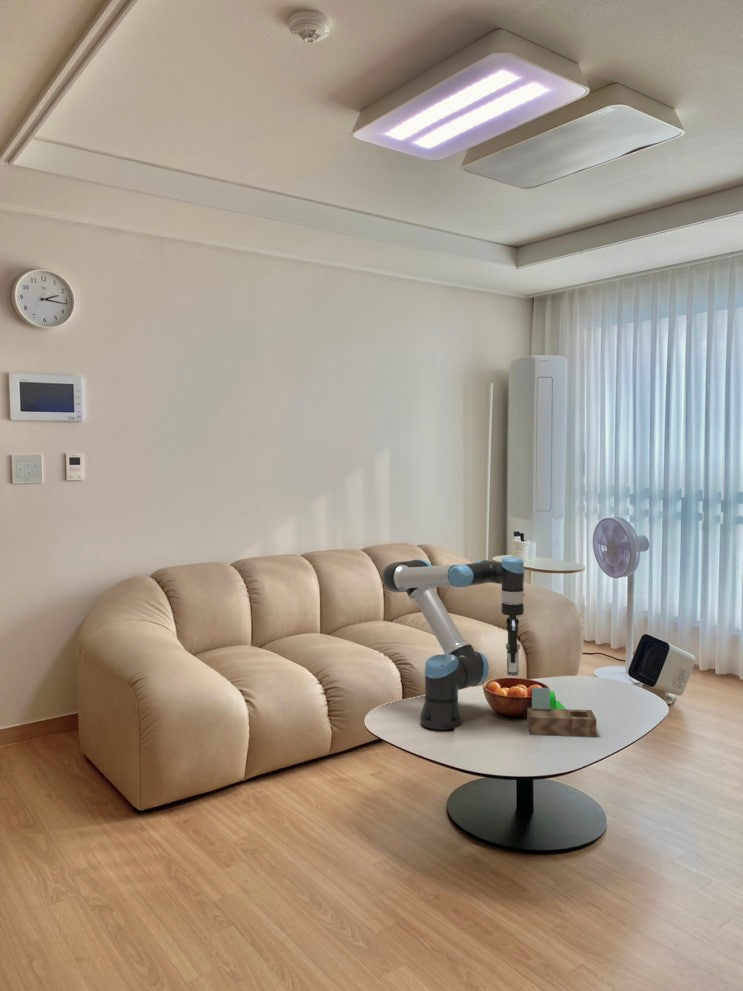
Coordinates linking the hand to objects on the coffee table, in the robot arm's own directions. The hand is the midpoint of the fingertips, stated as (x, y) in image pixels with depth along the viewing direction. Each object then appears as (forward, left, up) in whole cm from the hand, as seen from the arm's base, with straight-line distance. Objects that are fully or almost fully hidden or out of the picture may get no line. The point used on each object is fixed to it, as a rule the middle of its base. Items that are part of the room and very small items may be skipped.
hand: (512, 669), depth 273 cm
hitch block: (+17, -1, -21) cm, 26 cm away
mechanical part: (+17, +22, -21) cm, 35 cm away
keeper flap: (+10, +2, -14) cm, 17 cm away
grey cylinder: (0, 0, -2) cm, 2 cm away
